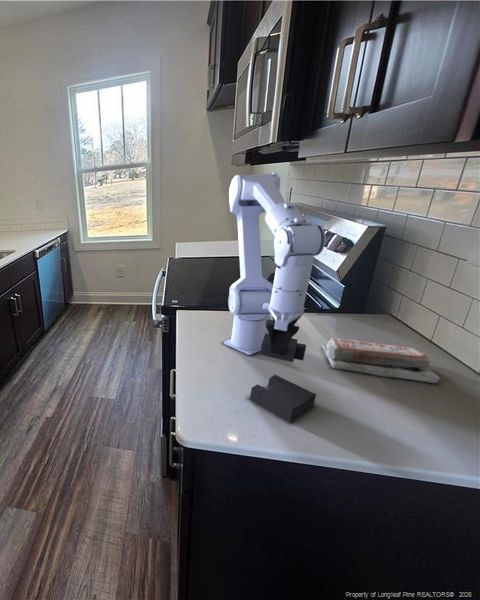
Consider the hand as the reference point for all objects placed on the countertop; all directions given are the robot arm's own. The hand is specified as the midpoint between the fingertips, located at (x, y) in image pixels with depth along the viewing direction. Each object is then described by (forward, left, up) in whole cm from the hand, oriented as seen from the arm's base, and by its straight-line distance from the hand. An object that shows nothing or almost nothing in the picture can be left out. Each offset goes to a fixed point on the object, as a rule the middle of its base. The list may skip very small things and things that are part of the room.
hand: (278, 347), depth 67 cm
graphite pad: (0, 0, -1) cm, 1 cm away
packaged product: (-24, +9, -9) cm, 27 cm away
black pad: (+6, +5, -8) cm, 11 cm away
